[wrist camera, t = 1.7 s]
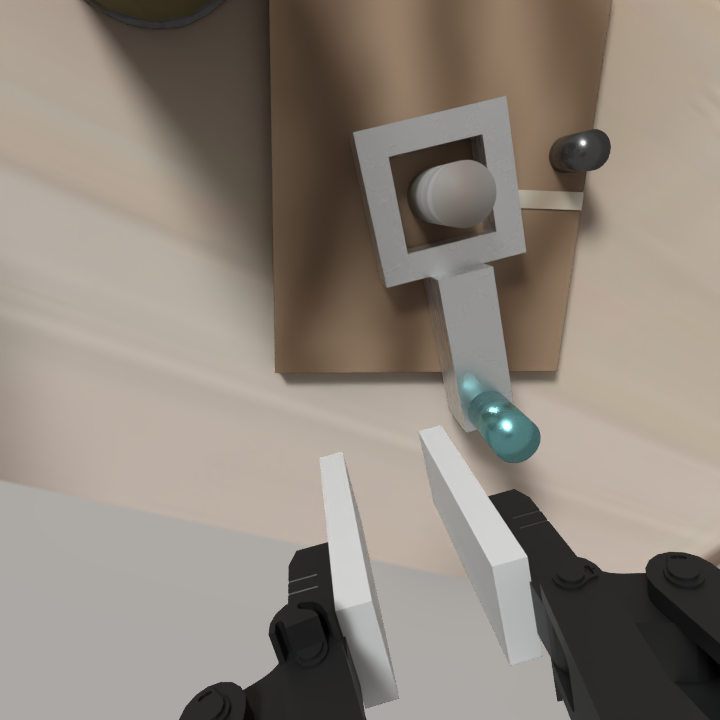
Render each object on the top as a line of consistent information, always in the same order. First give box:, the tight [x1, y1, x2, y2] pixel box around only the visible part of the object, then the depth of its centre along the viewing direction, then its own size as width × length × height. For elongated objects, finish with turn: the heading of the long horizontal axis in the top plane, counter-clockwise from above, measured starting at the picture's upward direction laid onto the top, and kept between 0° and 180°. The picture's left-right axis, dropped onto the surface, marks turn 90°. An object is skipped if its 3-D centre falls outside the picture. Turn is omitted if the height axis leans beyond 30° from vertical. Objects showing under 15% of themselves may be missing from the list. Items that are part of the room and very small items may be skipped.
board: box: [269, 0, 612, 373], centre depth 27 cm, size 18×22×7 cm
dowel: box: [549, 129, 611, 173], centre depth 29 cm, size 2×2×4 cm
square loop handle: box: [349, 96, 540, 463], centre depth 27 cm, size 17×8×8 cm, turn 13°
